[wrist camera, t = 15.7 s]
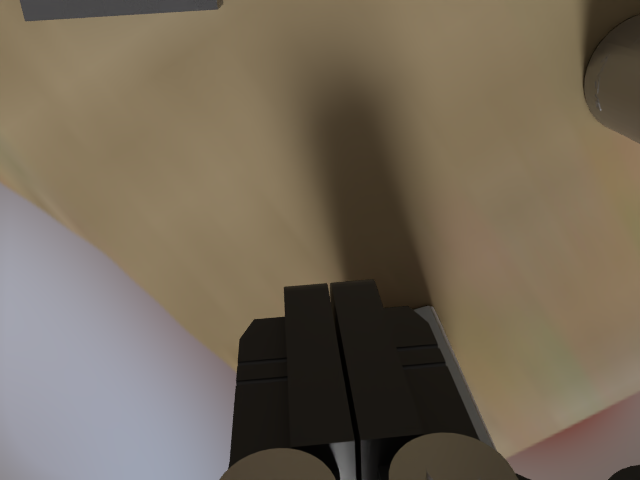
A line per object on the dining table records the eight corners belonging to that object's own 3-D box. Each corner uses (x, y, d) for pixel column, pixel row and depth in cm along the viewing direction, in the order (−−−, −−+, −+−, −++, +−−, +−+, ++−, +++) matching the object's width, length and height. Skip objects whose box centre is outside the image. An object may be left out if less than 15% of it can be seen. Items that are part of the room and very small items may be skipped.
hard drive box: (352, 324, 54) (393, 503, 37) (432, 301, 54) (512, 471, 36) (390, 441, 61) (440, 641, 43) (461, 422, 61) (541, 615, 43)
